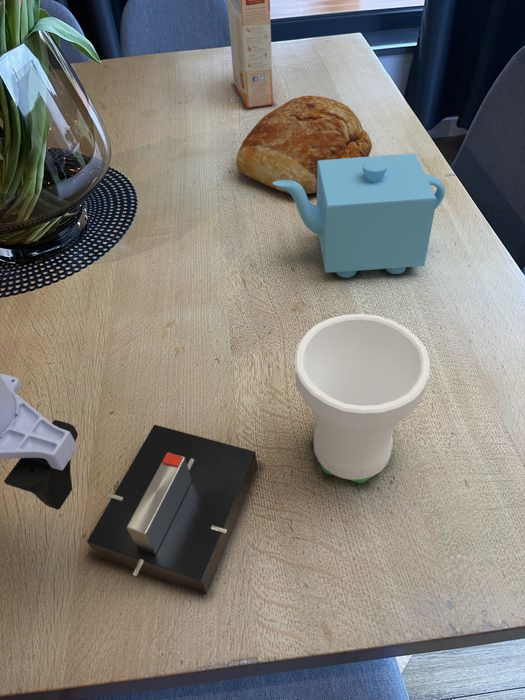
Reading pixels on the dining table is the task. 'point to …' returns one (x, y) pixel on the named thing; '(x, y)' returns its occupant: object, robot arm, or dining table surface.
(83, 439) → the dining table surface
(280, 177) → the bread
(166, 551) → the switch base
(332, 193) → the teapot
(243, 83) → the cracker box
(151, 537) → the red-topped metal block
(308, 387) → the cup
